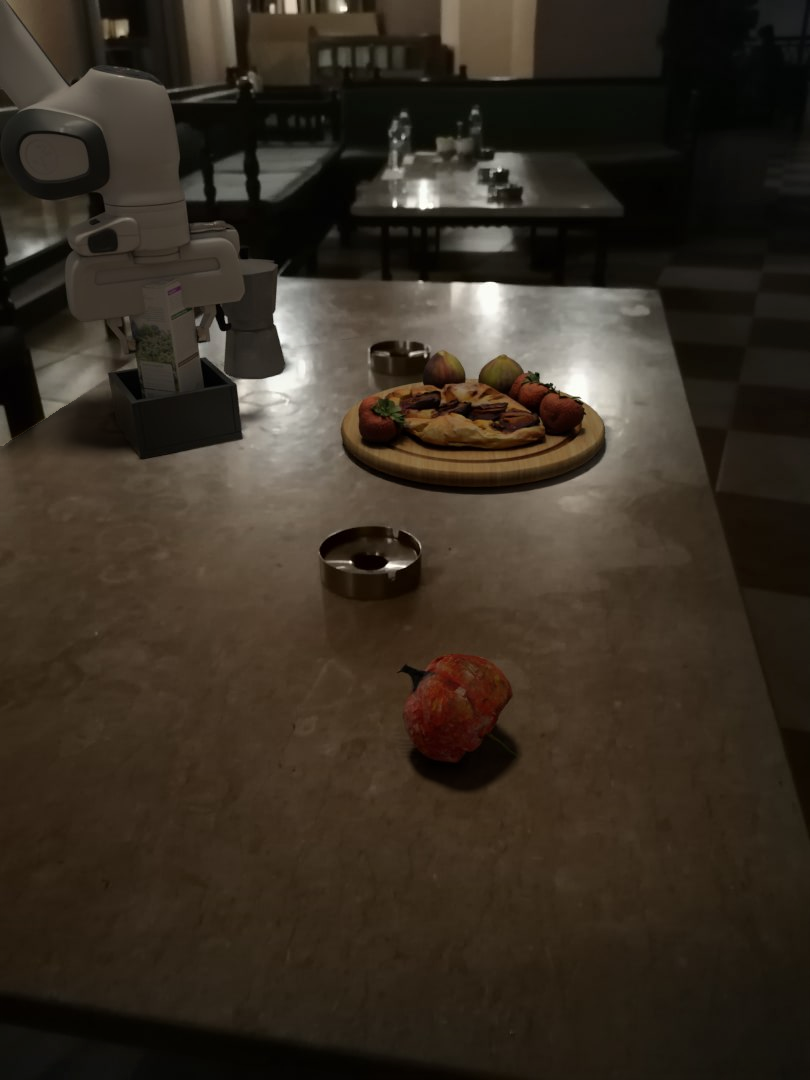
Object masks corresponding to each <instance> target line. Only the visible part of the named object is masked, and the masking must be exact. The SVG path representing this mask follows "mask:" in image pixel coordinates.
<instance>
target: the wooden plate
mask: <svg viewBox="0 0 810 1080" xmlns="http://www.w3.org/2000/svg"><path fill="white" fill-rule="evenodd" d="M540 375H541V374H540V372H537V371H535V372H533V371H531V370H528V369H527V372H525V371H524V369H523V367H522V365H520V363H518V362H517V361H516V360H515V359H513V358H511V357H509V356H508V355H507V354H504V353H503V354H500V355H498V356H496V357H495V358H493V359H492V360H490V361H488V362H487V363H486V364H485V365H484V366H482V368H481V369H480V371H479V374H478V378H467V376H466V371H465V368H464V365H462V362H461V361H460V360H459V359H458V358H457V357H456V356H455V355H453V354H451V353H449V352H448V351H446V350H444V349H442V350H440V351H436V353H434V354H433V355H432V356H431V357H430V358H429V359H428V361H427V363H426V364H425V366H424V369H423V373H422V381H419V382H414V383H408V384H404V385H399V386H395V387H392V388H388V389H385V390H382V391H380V392H376V393H375V394H374V393H373V394H372V395H370V396H367V397H366V398H363V399H362V400H360V401H359V402H357V403H356V404H355V405H353V407H351V408H350V409H349V410H348V412H347V413H345V415H344V417H343V418H342V422H341V425H340V436H341V440H342V443H343V444H344V447H345V448H346V449H347V450H348V451H349V453H350V454H351V455H352V456H353V457H354V458H356V459H357V460H359V461H360V462H361V463H363V464H364V465H366V466H368V467H370V468H372V469H375V470H376V471H378V472H381V473H384V474H387V475H390V476H392V477H396V478H400V479H404V480H408V481H412V482H417V483H423V484H428V485H429V484H430V485H439V486H448V487H465V488H476V487H477V488H484V487H485V488H486V487H503V486H513V485H514V486H515V485H521V484H527V483H534V482H538V481H543V480H546V479H551V478H554V477H559V476H560V475H563V474H566V473H568V472H570V471H572V470H575V469H577V468H579V467H581V466H582V465H584V464H586V463H587V462H589V461H591V460H592V458H594V457H595V456H596V454H598V452H599V451H600V450H601V448H602V446H603V445H604V442H605V438H606V425H605V423H604V420H603V418H602V417H601V416H600V415H599V413H598V412H597V411H596V410H595V409H594V408H593V407H592V406H590V405H589V404H588V403H587V402H584V401H583V400H582V398H581V396H574V395H571V394H569V393H566V392H563V391H561V389H556V388H557V386H556V385H554V383H553V382H547V383H544V382H542V381H540V379H541V376H540Z"/></svg>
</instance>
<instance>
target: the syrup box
mask: <svg viewBox="0 0 810 1080" xmlns="http://www.w3.org/2000/svg"><path fill="white" fill-rule="evenodd" d="M142 292H143V298H144V304H145V313H144V314H141V315H133V316H128V319H129V325H130V331H131V336H132V337H133V338H134V339H135V343H136V345H135V347H136V349H137V353H134V355H135V363H136V368H138V374H139V379H140V385H141V392H142V398H143V399H146V398H151V397H157V396H163V395H168V394H174V393H180V392H186V391H191V390H197V389H203V388H204V382H203V376H202V369H201V362H200V358H201V355H200V349H199V343H198V341H197V333H196V326H197V325H196V318H195V315H196V314H195V310H194V309H195V307H191V308H184V306H183V303H182V294H181V286H180V282H178V279H173V280H168V281H162V282H157V283H153V284H149V285H145V287H142Z"/></svg>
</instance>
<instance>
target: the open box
mask: <svg viewBox="0 0 810 1080" xmlns="http://www.w3.org/2000/svg"><path fill="white" fill-rule="evenodd" d="M200 362H201V369H202V376H203V382H204V388H203V389H197V390H191V391H186V392H180V393H174V394H168V395H163V396H157V397H151V398H146V399H143V398H142V392H141V385H140V379H139V374H138V368H137V367H135V368H129V369H122V370H116V371H110V372H107V377H108V381H109V387H110V393H111V397H112V398H111V399H112V404H113V409H114V416H115V420H116V421H115V422H116V425H117V427H118V428H119V430H120V431H121V433H122V434H123V435H124V437H125V438H126V440H127V441H128V442H129V444H130V446H131V447H132V448H133V450H134V451H135V452H136V455H137V456H138V457H139V458H140V460H144V459H148V458H149V459H150V458H153V457H158V456H163V455H164V456H165V455H169V454H173V453H178V452H183V451H188V450H194V449H198V448H202V447H203V448H204V447H209V446H213V445H218V444H223V443H229V442H232V441H237V440H242V439H243V430H242V429H243V428H242V420H241V410H240V402H239V392H238V385H237V384H236V383H235V382H234V380H232V379H231V378H230V376H229V377H228V375H226V374H225V372H224V371H222V370H221V369H220V368H218V367H217V365H215V364H214V363H213V362H212V361H210V359H208V358H207V357H206V356H203V357H200Z"/></svg>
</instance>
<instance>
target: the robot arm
mask: <svg viewBox="0 0 810 1080" xmlns="http://www.w3.org/2000/svg"><path fill="white" fill-rule="evenodd" d="M0 87H1V89H2V91H3V92H4V93H5V94H6V95H7V97H8V98H9V99H10V100H11V102H12V103H13V105H15V107H16V108H17V110H18V112H17V113H15V114H13V115H12V116H11V117H10V118H9V119H8V121H7V122H6V123H5V124H4V127H3V129H2V132H1V136H0V155H1V159H2V162H3V166H4V168H5V170H6V172H7V174H8V175H9V177H10V178H11V179H12V181H13V182H14V183H15V184H16V185H17V186H18V187H19V188H20V189H21V190H22V191H23V192H25V193H27V194H29V196H32V197H35V198H37V199H40V200H44V201H51V202H64V201H69V200H72V199H74V198H76V197H80V196H83V195H85V194H89V193H98V194H100V195H101V196H102V199H103V204H104V212H102V213H99V214H98V215H96V216H93V217H91V218H89V219H87V220H84V221H81V222H80V223H77V224H75V225H73V226H71V227H68V229H67V231H66V239H67V242H68V245H69V247H70V248H71V249H72V250H71V252H69V254H68V255H67V257H66V261H65V265H64V277H65V279H64V280H65V281H64V282H65V290H66V291H65V292H66V299H67V305H68V309H69V313H70V314H71V315H72V316H73V317H74V318H75V319H77V320H78V321H79V322H81V323H90V322H95V321H96V322H97V321H104V320H105V322H106V325H107V326H108V327H109V328H110V329H111V331H112V332H113V333H114V334H115V336H116V337H117V338H118V339H119V345H120V350H121V353H122V354H123V356H124V355H125V356H126V355H132V354H135V353H137V349H136V347H135V345H136V343H135V339H134V338H133V337H132V335H125V334H124V333H123V332H122V331H121V329H120V327H121V328H122V327H123V318H127V317H129V316H133V315H141V314H144V313H145V304H144V298H143V292H142V287H145V285H149V284H153V283H157V282H162V281H168V280H173V279H178V282H180V286H181V294H182V303H183V306H184V308H191V307H194V308H197V307H199V310H200V311H201V312H202V313H203V315H202V317H201V320H200V322H199V325H196V333H197V341H198V344H204V343H211V333H210V329H211V326H212V325H213V322H214V320H215V319H216V318H215V315H216V305H215V304H220V303H228V302H235V301H239V300H240V299H241V298H242V296H243V294H244V292H245V287H244V280H243V275H242V270H241V266H240V262H239V259H240V258H239V251H240V246H241V245H240V235H239V232H238V230H237V229H236V227H234V226H233V225H231V224H229V223H226V221H225V220H214V221H212V222H204V221H203V222H202V221H201V222H190V223H189V217H188V209H187V201H186V195H185V192H184V189H183V186H182V184H181V180H180V175H179V169H180V168H179V167H180V160H181V156H180V155H181V154H180V145H179V140H178V132H177V127H176V121H175V116H174V112H173V107H172V102H171V100H170V99H171V98H170V97H169V93H168V91H167V88H166V87H165V86H164V84H163V82H161V80H160V79H158V78H157V77H156V76H155V75H153V74H152V73H150V72H146V71H143V70H140V69H136V68H130V67H125V66H118V65H117V66H114V65H109V64H107V65H106V64H101V65H95V66H92V67H91V68H90V69H89V70H88V71H87V72H86V73H85V74H84V76H83V77H82V78H80V79H79V80H77V82H75V83H74V84H71V83H70V82H69V81H68V80H67V79H66V78H65V77H64V75H63V74H62V73H61V72H60V70H59V69H58V68H57V66H56V65H55V64H54V62H53V61H52V59H51V58H50V57H49V56H48V54H47V53H46V52H45V50H44V49H43V48H42V46H41V44H39V42H38V41H37V40H36V38H35V36H34V35H33V34H32V32H30V30H29V29H28V27H27V26H26V25H25V24H24V22H23V20H22V19H21V18H20V17H19V16H18V14H17V13H16V11H15V10H14V9H13V8H12V6H11V5H10V3H9V2H8V1H7V0H0Z"/></svg>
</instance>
